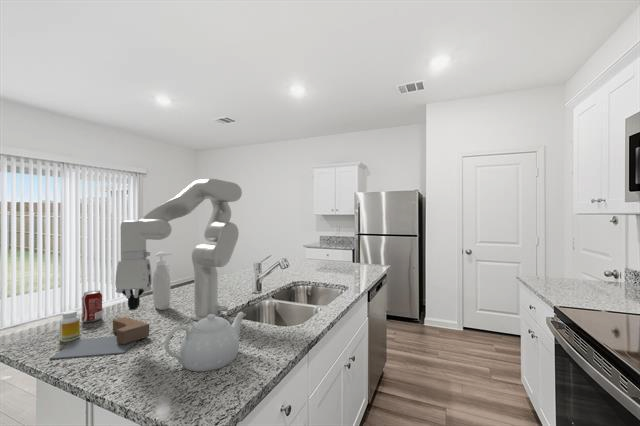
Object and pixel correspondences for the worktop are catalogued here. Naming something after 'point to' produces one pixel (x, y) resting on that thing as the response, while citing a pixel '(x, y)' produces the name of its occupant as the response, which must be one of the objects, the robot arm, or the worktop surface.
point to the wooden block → (129, 330)
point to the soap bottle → (161, 284)
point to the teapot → (208, 343)
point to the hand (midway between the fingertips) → (133, 308)
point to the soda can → (91, 306)
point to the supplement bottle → (69, 326)
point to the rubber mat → (93, 348)
